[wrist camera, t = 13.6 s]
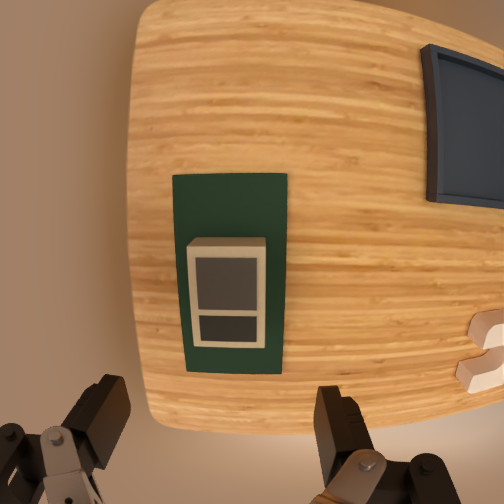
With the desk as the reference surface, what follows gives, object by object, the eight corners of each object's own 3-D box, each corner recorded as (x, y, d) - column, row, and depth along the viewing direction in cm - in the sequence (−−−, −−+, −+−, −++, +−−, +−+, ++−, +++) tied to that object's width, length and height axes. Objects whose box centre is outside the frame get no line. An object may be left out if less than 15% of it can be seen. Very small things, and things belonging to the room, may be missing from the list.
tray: (420, 49, 23) (429, 43, 21) (516, 82, 23) (526, 80, 21) (425, 200, 27) (436, 202, 25) (520, 209, 27) (531, 212, 25)
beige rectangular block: (195, 237, 28) (185, 246, 25) (265, 237, 28) (266, 246, 24) (200, 327, 30) (193, 347, 27) (264, 329, 30) (264, 349, 27)
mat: (173, 175, 27) (172, 175, 27) (286, 173, 27) (287, 173, 27) (187, 369, 32) (186, 371, 32) (281, 372, 32) (281, 374, 32)
